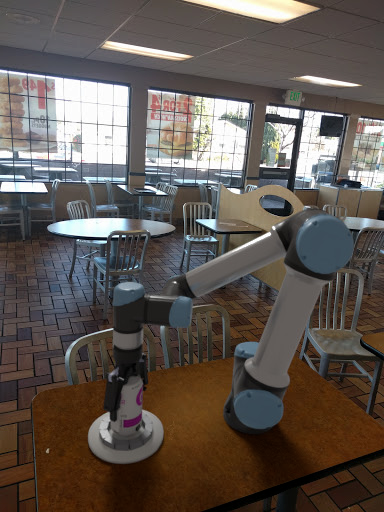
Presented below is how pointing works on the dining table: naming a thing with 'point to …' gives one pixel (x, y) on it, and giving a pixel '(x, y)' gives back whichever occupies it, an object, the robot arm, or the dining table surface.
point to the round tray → (127, 454)
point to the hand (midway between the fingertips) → (126, 419)
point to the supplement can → (131, 406)
